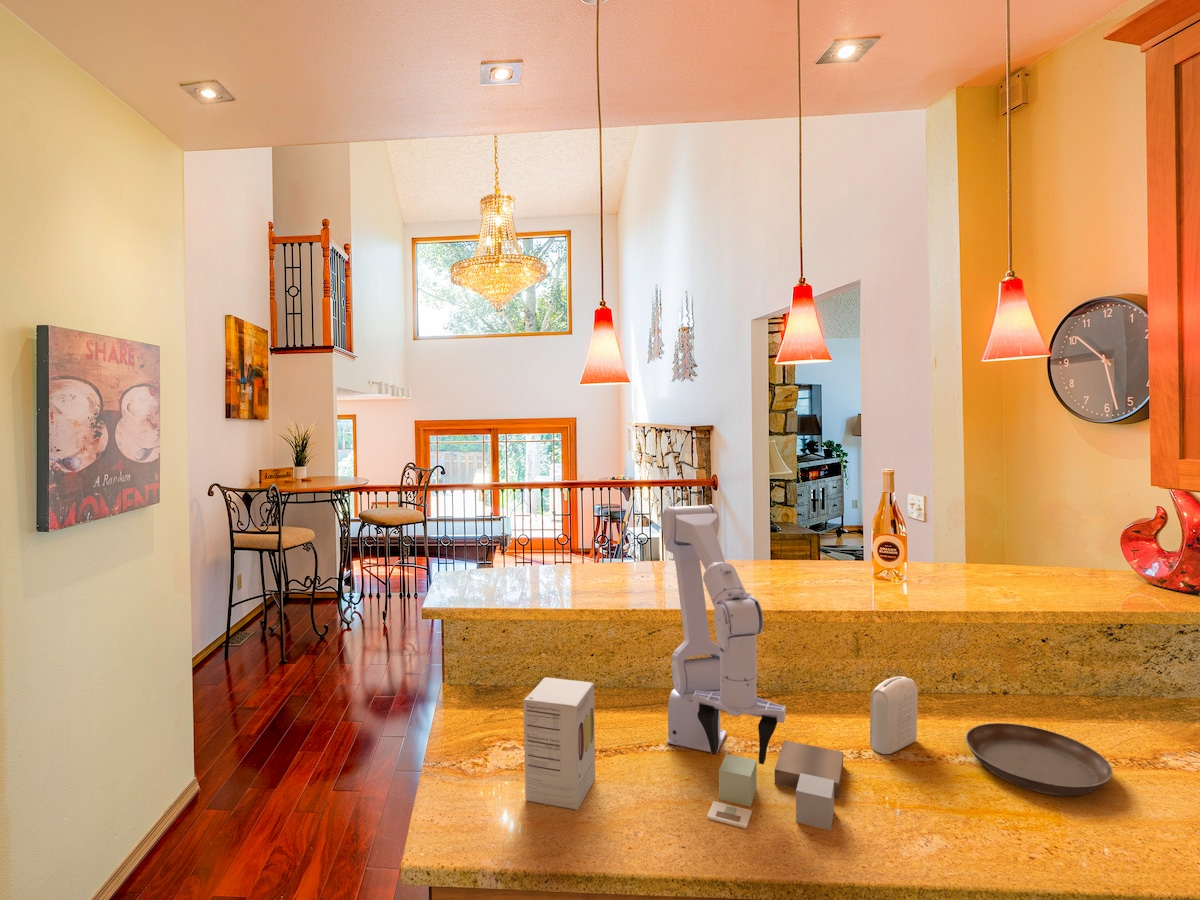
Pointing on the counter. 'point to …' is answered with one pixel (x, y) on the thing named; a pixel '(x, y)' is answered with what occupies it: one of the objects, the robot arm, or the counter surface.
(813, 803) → the grey cube
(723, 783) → the sage cube
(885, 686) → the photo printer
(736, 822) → the card
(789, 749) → the walnut slab
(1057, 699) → the counter surface
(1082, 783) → the plant saucer
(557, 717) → the supplement box
